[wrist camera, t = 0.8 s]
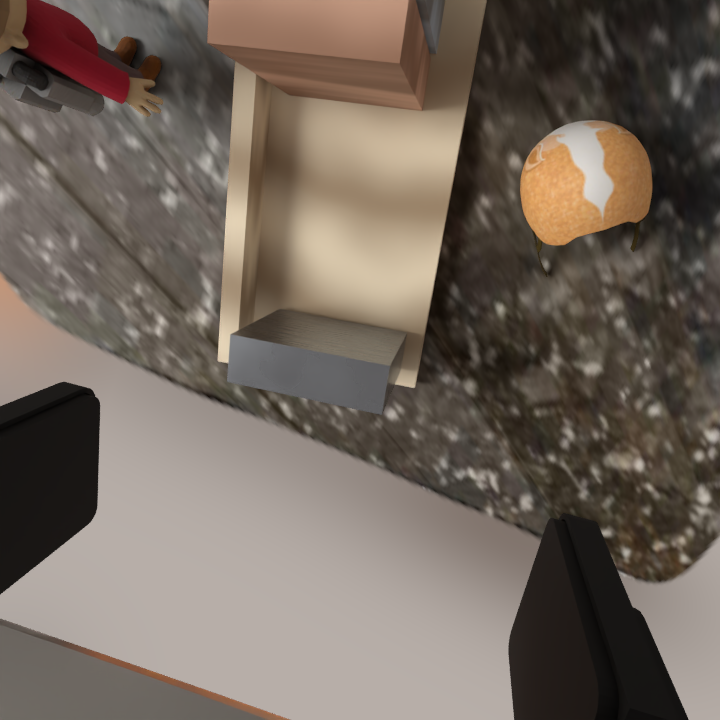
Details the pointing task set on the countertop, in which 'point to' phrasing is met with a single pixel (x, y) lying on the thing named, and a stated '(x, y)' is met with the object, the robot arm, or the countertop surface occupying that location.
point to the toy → (68, 62)
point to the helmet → (585, 182)
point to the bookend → (318, 359)
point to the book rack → (342, 157)
